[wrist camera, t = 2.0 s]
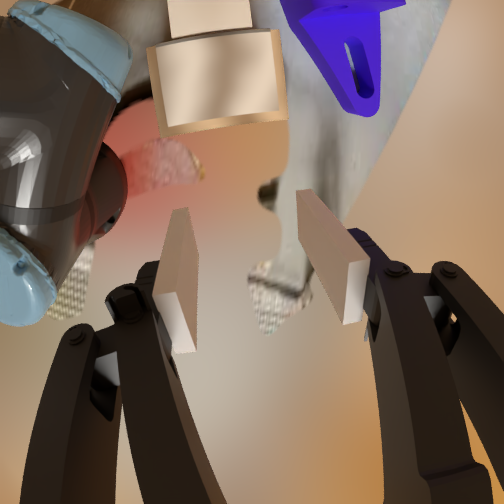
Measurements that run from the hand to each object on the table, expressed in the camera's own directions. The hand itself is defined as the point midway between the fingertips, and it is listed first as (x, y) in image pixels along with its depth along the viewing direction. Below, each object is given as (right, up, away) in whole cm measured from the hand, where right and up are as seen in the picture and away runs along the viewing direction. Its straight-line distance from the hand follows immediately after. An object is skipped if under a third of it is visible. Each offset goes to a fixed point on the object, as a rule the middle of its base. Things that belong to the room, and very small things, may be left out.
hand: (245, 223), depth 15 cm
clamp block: (-4, +19, +17) cm, 26 cm away
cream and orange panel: (-4, +21, +4) cm, 22 cm away
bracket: (+11, +25, +17) cm, 32 cm away
